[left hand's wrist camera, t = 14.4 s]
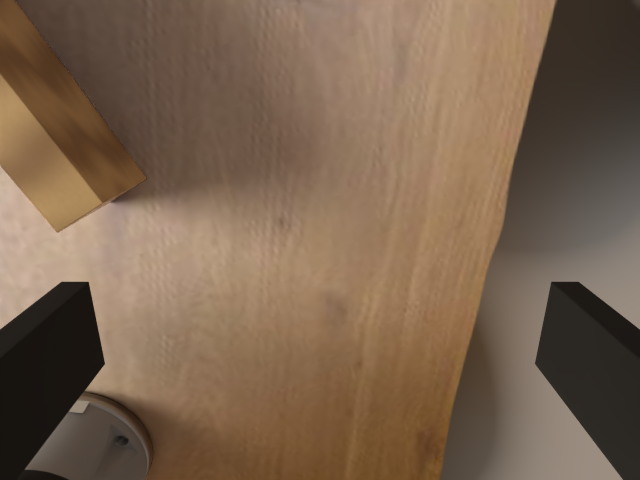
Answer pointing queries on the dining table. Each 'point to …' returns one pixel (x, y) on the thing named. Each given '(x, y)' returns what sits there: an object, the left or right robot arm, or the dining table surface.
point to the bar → (54, 130)
